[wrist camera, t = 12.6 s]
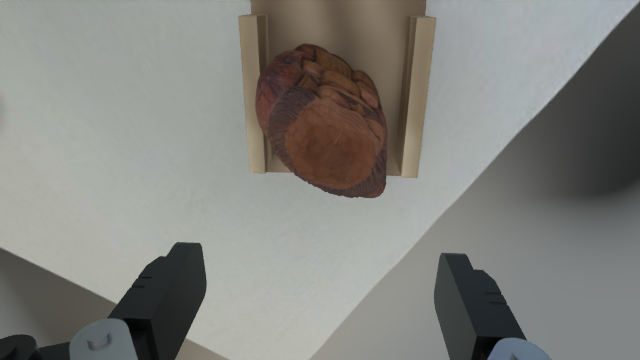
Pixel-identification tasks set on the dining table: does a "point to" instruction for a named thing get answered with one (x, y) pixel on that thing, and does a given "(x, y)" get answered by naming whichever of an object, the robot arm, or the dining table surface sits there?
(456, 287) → the robot arm
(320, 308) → the dining table surface
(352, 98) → the wooden figurine
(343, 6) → the light wood shelf
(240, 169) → the dining table surface
